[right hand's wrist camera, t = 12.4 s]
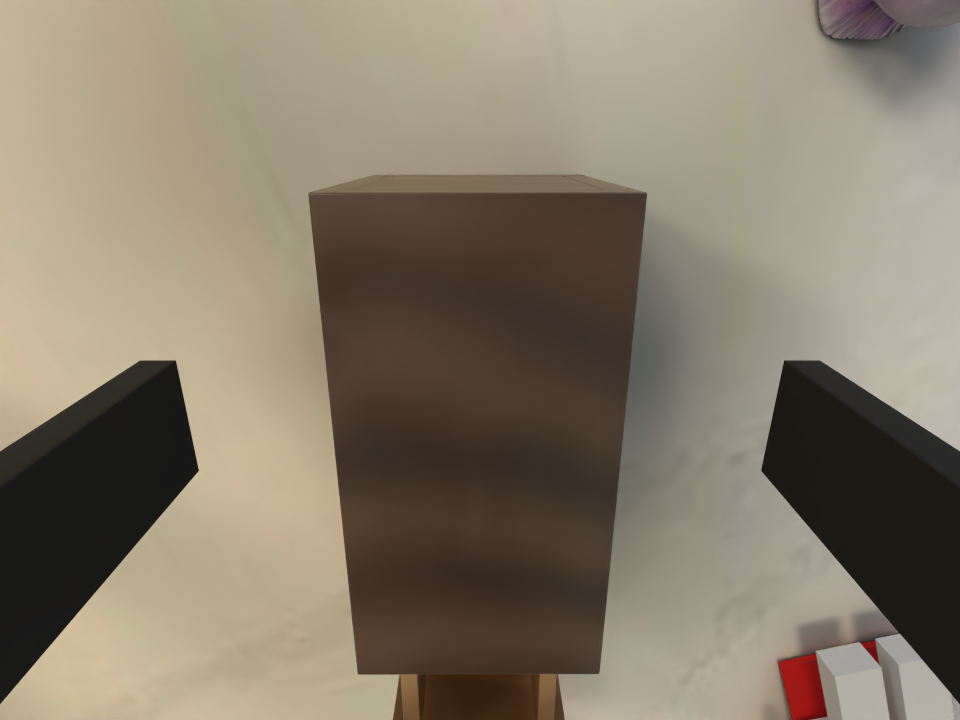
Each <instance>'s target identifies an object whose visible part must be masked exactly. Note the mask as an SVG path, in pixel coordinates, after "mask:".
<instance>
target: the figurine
mask: <svg viewBox="0 0 960 720" xmlns="http://www.w3.org/2000/svg"><path fill="white" fill-rule="evenodd" d="M818 7H819V18H820V22H821V25H822V28H823V31H824V32H825V33H826V34H828V35H831V36H832V37H833V38H838V39H845V38H847V37H848V38H849V39H851V38H854V39H857V38H859V39H860V40H862V39H865V40H868V39H871V40H873V39H881V38H882V37H884V36H886V37H888V36H889V35H890V34H892V33H894V32H899V31H900V30H902V29H903V28H904V27H905V26H906V25H908V26H913V27H939V26H946V25H951V24H955V23H957V22H960V0H818Z"/></svg>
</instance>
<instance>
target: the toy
mask: <svg viewBox="0 0 960 720" xmlns="http://www.w3.org/2000/svg"><path fill="white" fill-rule="evenodd" d="M778 663H779V667H780V671H781V675H782V679H783V683H784V688H785V692H786V696H787V700H788V704H789V708H790V712H791V717H792V720H955V719H954V711H953V704H952V696H951V693H950V692H949V691H948V690H947V688H946V687H945V686H944V685H943V684H942V683H941V681H940V680H939V679H938V678H937V677H936V675H935V674H934V673H933V672H932V671H931V670H930V668H929V667H928V666H927V665H926V664H925V663H924V661H923V660H922V659H921V658H920V657H919V655H918V654H917V653H916V652H915V651H914V650H913V648H912V647H911V646H910V645H909V644H908V643H907V641H906V640H905V639H904V638H903V637H902V636H901V634H896V635H891V636H886V637H881V638H876V639H875V640H874V641H870V642H865V643H860V642H857V643H852V644H847V645H842V646H837V647H832V648H827V649H822V650H817V651H816V654H812V655H808V656H804V657H799V658H795V659H790V660H786V661H781V662H778Z"/></svg>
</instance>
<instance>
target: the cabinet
mask: <svg viewBox="0 0 960 720" xmlns="http://www.w3.org/2000/svg"><path fill="white" fill-rule="evenodd" d="M646 199H647V193H646V192H642V191H639V190H634V189H630V188H627V187H623V186H619V185H616V184H612V183H608V182H604V181H601V180H597V179H593V178H590V177H586V176H583V175H373V176H369V177H366V178H362V179H358V180H355V181H351V182H347V183H343V184H340V185H336V186H332V187H328V188H325V189H321V190H318V191H314V192H310V193H309V204H310V214H311V223H312V233H313V243H314V252H315V262H316V272H317V282H318V291H319V301H320V311H321V320H322V330H323V340H324V350H325V359H326V369H327V379H328V389H329V398H330V408H331V418H332V427H333V437H334V447H335V457H336V466H337V476H338V486H339V496H340V505H341V515H342V525H343V534H344V544H345V554H346V564H347V573H348V583H349V593H350V603H351V612H352V622H353V632H354V641H355V651H356V661H357V671H358V674H599V671H600V661H601V651H602V641H603V631H604V621H605V611H606V601H607V591H608V581H609V571H610V561H611V551H612V540H613V530H614V520H615V510H616V500H617V490H618V480H619V470H620V460H621V450H622V440H623V430H624V420H625V410H626V400H627V390H628V380H629V370H630V360H631V350H632V339H633V329H634V319H635V309H636V299H637V289H638V279H639V269H640V259H641V249H642V239H643V229H644V219H645V209H646Z"/></svg>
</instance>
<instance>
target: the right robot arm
mask: <svg viewBox="0 0 960 720" xmlns="http://www.w3.org/2000/svg"><path fill="white" fill-rule="evenodd" d="M198 471H199V470H198V465H197V460H196V455H195V450H194V446H193V441H192V436H191V431H190V426H189V422H188V417H187V412H186V407H185V402H184V398H183V393H182V388H181V383H180V378H179V374H178V369H177V364H176V361H139V362H137V363H136V364H134V365H133V366H131V367H130V368H128V369H127V370H125V371H123V372H122V373H120V374H119V375H117V376H116V377H114V378H113V379H111V380H110V381H108V382H107V383H105V384H103V385H102V386H100V387H99V388H97V389H96V390H94V391H93V392H91V393H90V394H88V395H86V396H85V397H83V398H82V399H80V400H79V401H77V402H76V403H74V404H73V405H71V406H70V407H68V408H66V409H65V410H63V411H62V412H60V413H59V414H57V415H56V416H54V417H53V418H51V419H49V420H48V421H46V422H45V423H43V424H42V425H40V426H39V427H37V428H36V429H34V430H33V431H31V432H29V433H28V434H26V435H25V436H23V437H22V438H20V439H19V440H17V441H16V442H14V443H12V444H11V445H9V446H8V447H6V448H5V449H3V450H2V451H0V704H1V702H2V701H3V700H4V699H5V698H6V697H7V695H8V694H9V693H10V692H11V691H12V690H13V688H14V687H15V686H16V685H17V684H18V683H19V681H20V680H21V679H22V678H23V677H24V675H25V674H26V673H27V672H28V671H29V670H30V668H31V667H32V666H33V665H34V664H35V663H36V661H37V660H38V659H39V658H40V657H41V655H42V654H43V653H44V652H45V651H46V650H47V648H48V647H49V646H50V645H51V644H52V643H53V641H54V640H55V639H56V638H57V637H58V636H59V634H60V633H61V632H62V631H63V630H64V628H65V627H66V626H67V625H68V624H69V623H70V621H71V620H72V619H73V618H74V617H75V616H76V614H77V613H78V612H79V611H80V610H81V608H82V607H83V606H84V605H85V604H86V603H87V601H88V600H89V599H90V598H91V597H92V596H93V594H94V593H95V592H96V591H97V590H98V589H99V587H100V586H101V585H102V584H103V583H104V581H105V580H106V579H107V578H108V577H109V576H110V574H111V573H112V572H113V571H114V570H115V569H116V567H117V566H118V565H119V564H120V563H121V561H122V560H123V559H124V558H125V557H126V556H127V554H128V553H129V552H130V551H131V550H132V549H133V547H134V546H135V545H136V544H137V543H138V542H139V540H140V539H141V538H142V537H143V536H144V534H145V533H146V532H147V531H148V530H149V529H150V527H151V526H152V525H153V524H154V523H155V522H156V520H157V519H158V518H159V517H160V516H161V514H162V513H163V512H164V511H165V510H166V509H167V507H168V506H169V505H170V504H171V503H172V502H173V500H174V499H175V498H176V497H177V496H178V495H179V493H180V492H181V491H182V490H183V489H184V487H185V486H186V485H187V484H188V483H189V482H190V480H191V479H192V478H193V477H194V476H195V475H196V473H197V472H198ZM761 471H762V472H763V473H764V475H765V476H766V477H767V478H768V479H769V480H770V482H771V483H772V484H773V485H774V486H775V487H776V489H777V490H778V491H779V492H780V493H781V495H782V496H783V497H784V498H785V499H786V500H787V502H788V503H789V504H790V505H791V506H792V507H793V509H794V510H795V511H796V512H797V513H798V514H799V516H800V517H801V518H802V519H803V520H804V522H805V523H806V524H807V525H808V526H809V527H810V529H811V530H812V531H813V532H814V533H815V534H816V536H817V537H818V538H819V539H820V540H821V542H822V543H823V544H824V545H825V546H826V547H827V549H828V550H829V551H830V552H831V553H832V554H833V556H834V557H835V558H836V559H837V560H838V561H839V563H840V564H841V565H842V566H843V567H844V569H845V570H846V571H847V572H848V573H849V574H850V576H851V577H852V578H853V579H854V580H855V581H856V583H857V584H858V585H859V586H860V587H861V589H862V590H863V591H864V592H865V593H866V594H867V596H868V597H869V598H870V599H871V600H872V601H873V603H874V604H875V605H876V606H877V607H878V608H879V610H880V611H881V612H882V613H883V614H884V616H885V617H886V618H887V619H888V620H889V621H890V623H891V624H892V625H893V626H894V627H895V628H896V630H897V631H898V632H899V633H900V634H901V636H902V637H903V638H904V639H905V640H906V641H907V643H908V644H909V645H910V646H911V647H912V648H913V650H914V651H915V652H916V653H917V654H918V655H919V657H920V658H921V659H922V660H923V661H924V663H925V664H926V665H927V666H928V667H929V668H930V670H931V671H932V672H933V673H934V674H935V675H936V677H937V678H938V679H939V680H940V681H941V683H942V684H943V685H944V686H945V687H946V688H947V690H948V691H949V692H950V693H951V694H952V695H953V697H954V698H955V699H956V700H957V701H958V702H959V704H960V451H958V450H957V449H955V448H954V447H952V446H951V445H949V444H948V443H946V442H944V441H943V440H941V439H940V438H938V437H937V436H935V435H934V434H932V433H931V432H929V431H927V430H926V429H924V428H923V427H921V426H920V425H918V424H917V423H915V422H914V421H912V420H911V419H909V418H907V417H906V416H904V415H903V414H901V413H900V412H898V411H897V410H895V409H894V408H892V407H890V406H889V405H887V404H886V403H884V402H883V401H881V400H880V399H878V398H877V397H875V396H874V395H872V394H870V393H869V392H867V391H866V390H864V389H863V388H861V387H860V386H858V385H857V384H855V383H853V382H852V381H850V380H849V379H847V378H846V377H844V376H843V375H841V374H840V373H838V372H837V371H835V370H833V369H832V368H830V367H829V366H827V365H826V364H824V363H823V362H821V361H784V364H783V369H782V374H781V378H780V383H779V388H778V393H777V398H776V402H775V407H774V412H773V417H772V422H771V426H770V431H769V436H768V441H767V446H766V450H765V455H764V460H763V465H762V470H761Z"/></svg>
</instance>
